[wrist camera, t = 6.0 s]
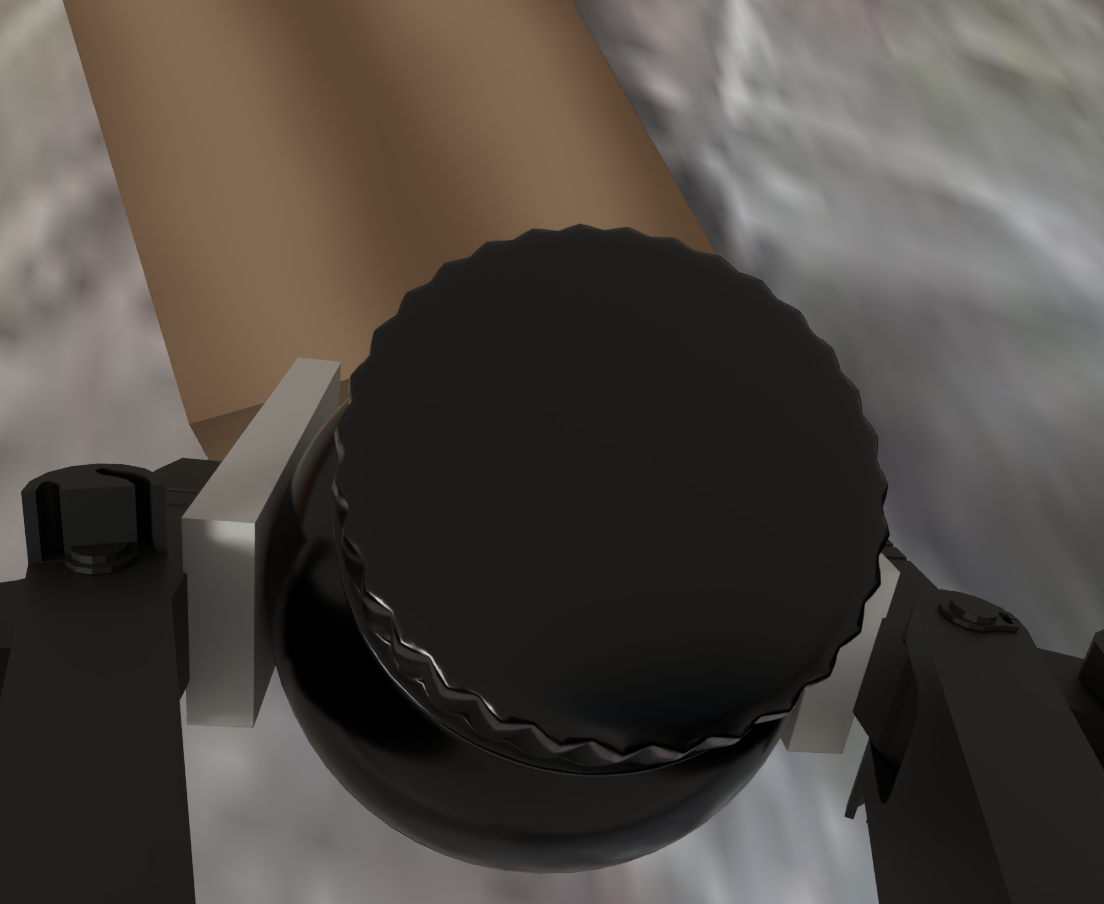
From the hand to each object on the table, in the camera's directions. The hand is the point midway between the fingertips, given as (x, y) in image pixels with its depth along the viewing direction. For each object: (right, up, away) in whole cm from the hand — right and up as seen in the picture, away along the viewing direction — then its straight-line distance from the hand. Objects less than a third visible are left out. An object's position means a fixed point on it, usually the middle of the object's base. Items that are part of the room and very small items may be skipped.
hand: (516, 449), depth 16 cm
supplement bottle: (-1, -5, +2) cm, 5 cm away
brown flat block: (-4, +7, +6) cm, 10 cm away
